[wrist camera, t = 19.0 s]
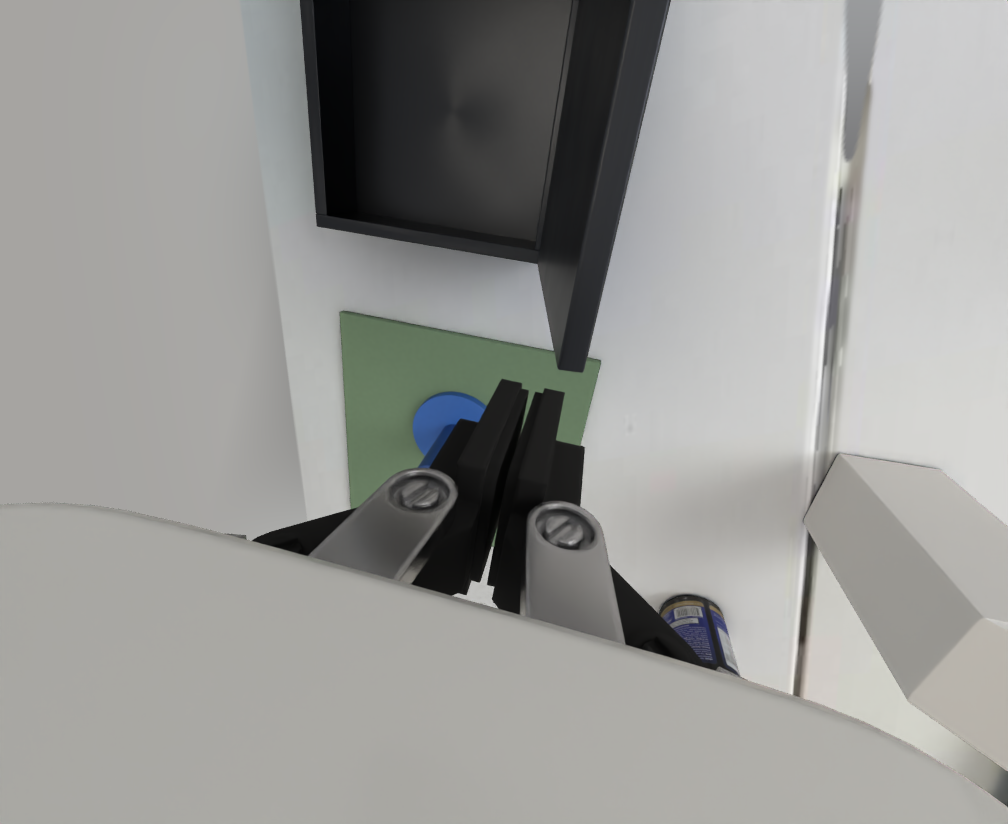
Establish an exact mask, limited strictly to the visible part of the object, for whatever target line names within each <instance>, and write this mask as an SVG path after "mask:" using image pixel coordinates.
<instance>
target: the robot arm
mask: <svg viewBox="0 0 1008 824" xmlns="http://www.w3.org/2000/svg"><path fill="white" fill-rule="evenodd" d="M528 394H529V390H526V389H522V383H520V382H515V381H510V380H506V379H501V381H500V382H499V384H498V386H497V388H496V390H495V392H494V394H493V396H492V397H491V399H490V401H489V403H488V405H487V407H486V409H485V411H484V413H483V414H482V416H481V418H480V420H479V422H475V421H471V420H466V419H462V418H461V419H459V421H458V422H457V424H456V425H455V427H454V428H453V430H452V432H451V433H450V435H449V437H448V438H447V440H446V441H445V443H444V445H443V446H442V448H441V449H440V451H439V453H438V454H437V456H436V458H435V459H434V461H433V462H432V464H431V466H430V467H429V468H411V469H405V470H402V471H400V472H397V473H395V474H394V475H392V476H391V477H390V478H388V479H387V480H386V481H385V482H384V483H383V484H382V485H381V486H380V487H379V488H378V489H377V490H376V491H375V492H374V493H373V494H372V495H371V496H370V497H369V498H367V499H366V500H365V501H364V502H363V503H362V504H361V505H360V506H359V507H357V508H354V509H350V510H346V511H343V512H339V513H336V514H332V515H329V516H325V517H322V518H318V519H314V520H311V521H307V522H304V523H300V524H297V525H293V526H290V527H286V528H282V529H279V530H275V531H272V532H269V533H266V534H264V535H261V536H259V537H257V538H255V539H254V540H252V541H250V540H247V539H246V535H235V534H223V533H219V532H215V531H212V530H208V529H204V528H200V527H196V526H192V525H188V524H184V523H180V522H175V521H171V520H166V519H162V518H158V517H154V516H149V515H145V514H140V513H136V512H132V511H127V510H121V509H114V508H108V507H101V506H95V505H83V504H66V503H25V504H24V503H23V504H4V505H0V824H1008V807H1007V806H1005V805H1004V804H1003V803H1001V802H1000V801H999V800H997V799H996V798H995V797H993V796H992V795H991V794H989V793H988V792H986V791H985V790H984V789H982V788H981V787H979V786H978V785H976V784H975V783H973V782H972V781H970V780H969V779H967V778H966V777H965V776H963V775H961V774H960V773H958V772H956V771H955V770H953V769H951V768H950V767H948V766H946V765H945V764H943V763H941V762H940V761H938V760H936V759H935V758H933V757H931V756H929V755H928V754H926V753H924V752H923V751H921V750H919V749H918V748H916V747H914V746H913V745H911V744H909V743H907V742H905V741H903V740H901V739H899V738H896V737H894V736H892V735H890V734H888V733H886V732H884V731H882V730H880V729H878V728H876V727H874V726H872V725H870V724H868V723H866V722H863V721H861V720H858V719H856V718H853V717H851V716H848V715H846V714H843V713H841V712H838V711H836V710H833V709H831V708H828V707H826V706H823V705H821V704H818V703H815V702H812V701H809V700H806V699H803V698H800V697H797V696H794V695H791V694H788V693H784V692H781V691H778V690H775V689H772V688H769V687H766V686H763V685H760V684H757V683H754V682H750V681H748V680H746V679H744V678H742V677H740V676H738V675H736V674H734V673H732V672H730V671H728V670H725V669H723V668H721V667H718V668H717V670H716V671H714V670H710V669H707V668H705V666H704V664H703V662H702V660H701V659H700V657H699V656H698V655H697V654H696V653H695V651H694V650H693V649H692V648H691V646H690V645H689V644H688V643H687V642H686V641H685V640H684V639H683V638H682V637H681V636H680V635H679V634H678V633H677V632H676V631H675V630H674V629H673V628H672V627H671V626H670V625H669V624H668V623H667V622H666V621H665V620H664V619H663V618H662V617H661V616H660V615H659V614H658V613H657V612H656V611H655V610H654V609H653V608H652V607H651V606H650V605H649V604H648V603H647V602H646V601H645V600H644V599H643V598H642V597H641V596H640V595H639V594H638V593H637V592H636V591H635V590H634V589H633V588H632V587H631V586H630V585H629V584H628V583H627V582H626V581H625V580H624V579H623V578H622V577H621V576H620V575H619V574H618V573H617V572H616V571H615V570H614V569H613V568H612V566H611V565H610V564H609V559H608V554H607V549H606V544H605V539H604V534H603V531H602V528H601V526H600V523H599V522H598V521H597V520H596V519H595V517H594V516H593V515H592V514H590V513H589V512H588V511H586V510H585V509H583V508H581V507H580V502H581V489H582V476H583V463H584V447H583V446H579V445H574V444H570V443H566V442H561V441H557V440H556V437H557V432H558V426H559V421H560V416H561V411H562V406H563V400H564V395H565V392H561V391H556V390H552V389H547V388H544V391H543V393H540V392H535V394H534V397H533V400H532V402H531V405H530V408H529V411H528V414H527V417H526V420H525V423H524V426H523V429H522V425H523V420H524V415H525V410H526V404H527V399H528ZM521 431H522V432H521ZM496 530H497V532H496ZM495 533H496V538H495V543H494V549H493V554H492V560H491V565H490V571H489V576H488V582H487V585H490V586H494V592H493V597H492V600H493V603H495V604H496V606H497V607H498V609H497V608H494V607H490V606H486V605H483V604H479V603H476V602H472V601H468V600H465V599H461V598H458V597H454V596H452V595H455V594H457V593H460V594H463V595H467V592H468V589H469V586H470V583H471V580H472V581H476V582H479V583H480V581H481V578H482V575H483V571H484V568H485V565H486V562H487V559H488V556H489V552H490V549H491V546H492V543H493V540H494V536H495Z"/></svg>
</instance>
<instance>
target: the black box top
mask: <svg viewBox="0 0 1008 824" xmlns="http://www.w3.org/2000/svg"><path fill="white" fill-rule="evenodd" d="M670 2H671V0H579V4H578V10H577V17H576V23H575V29H574V36H573V42H572V48H571V55H570V61H569V67H568V74H567V80H566V86H565V93H564V99H563V105H562V112H561V118H560V124H559V131H558V137H557V144H556V150H555V156H554V163H553V169H552V175H551V182H550V188H549V194H548V201H547V207H546V213H545V220H544V226H543V232H542V239H541V245H540V251H539V258H538V270H539V275H540V280H541V285H542V290H543V296H544V301H545V306H546V311H547V316H548V322H549V327H550V332H551V337H552V343H553V348H554V353H555V358H556V363H557V368H558V369H559V370H563V371H571V372H579V373H583V372H584V369H585V365H586V361H587V356H588V352H589V348H590V344H591V339H592V335H593V331H594V326H595V322H596V318H597V314H598V309H599V305H600V301H601V297H602V292H603V288H604V284H605V279H606V275H607V271H608V267H609V262H610V258H611V254H612V250H613V245H614V241H615V237H616V232H617V228H618V224H619V220H620V215H621V211H622V207H623V203H624V198H625V194H626V190H627V185H628V181H629V177H630V173H631V168H632V164H633V160H634V156H635V151H636V147H637V143H638V138H639V134H640V130H641V126H642V121H643V117H644V113H645V109H646V104H647V100H648V96H649V91H650V87H651V83H652V79H653V74H654V70H655V66H656V62H657V57H658V53H659V49H660V45H661V40H662V36H663V32H664V27H665V23H666V19H667V15H668V10H669V6H670Z"/></svg>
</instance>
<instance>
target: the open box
mask: <svg viewBox="0 0 1008 824" xmlns="http://www.w3.org/2000/svg"><path fill="white" fill-rule="evenodd" d="M578 4H579V0H300V8H301V21H302V34H303V48H304V61H305V74H306V88H307V101H308V114H309V128H310V141H311V154H312V167H313V181H314V194H315V207H316V221H317V226H318V227H323V228H329V229H335V230H341V231H347V232H353V233H359V234H364V235H370V236H376V237H382V238H388V239H394V240H400V241H406V242H412V243H418V244H423V245H429V246H435V247H441V248H447V249H453V250H459V251H465V252H471V253H477V254H482V255H488V256H494V257H500V258H506V259H512V260H518V261H524V262H530V263H536V264H538V258H539V251H540V245H541V239H542V232H543V226H544V220H545V213H546V207H547V201H548V194H549V188H550V182H551V175H552V169H553V163H554V156H555V150H556V144H557V137H558V131H559V124H560V118H561V112H562V105H563V99H564V93H565V86H566V80H567V74H568V67H569V61H570V55H571V48H572V42H573V36H574V29H575V23H576V17H577V10H578Z"/></svg>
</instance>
